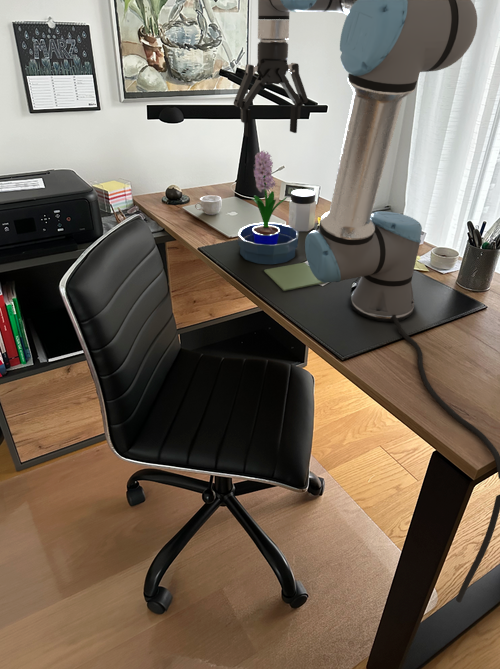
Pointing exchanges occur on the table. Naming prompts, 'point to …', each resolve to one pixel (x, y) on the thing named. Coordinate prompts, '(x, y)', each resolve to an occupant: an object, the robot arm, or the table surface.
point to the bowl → (268, 252)
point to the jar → (302, 210)
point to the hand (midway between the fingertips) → (270, 134)
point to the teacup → (210, 204)
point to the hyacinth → (265, 231)
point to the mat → (293, 276)
